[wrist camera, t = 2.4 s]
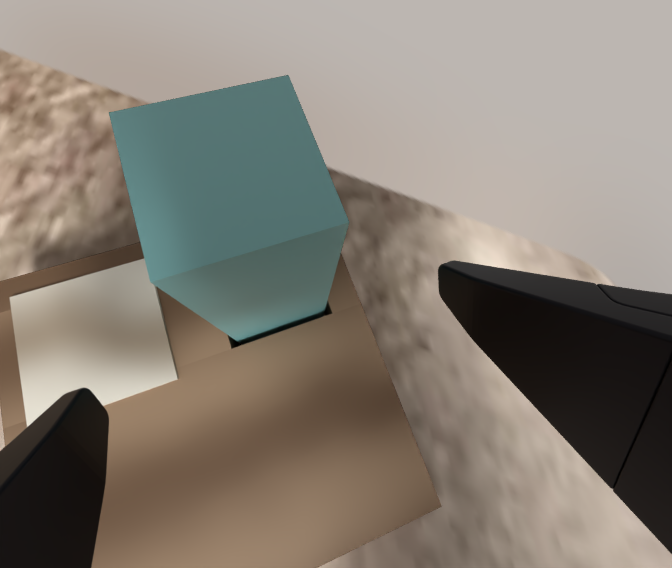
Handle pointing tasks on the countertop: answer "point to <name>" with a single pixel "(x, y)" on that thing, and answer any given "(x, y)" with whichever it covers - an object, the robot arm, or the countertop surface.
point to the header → (215, 420)
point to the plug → (234, 205)
